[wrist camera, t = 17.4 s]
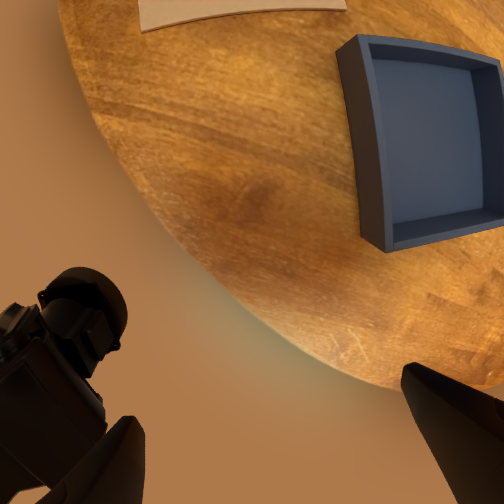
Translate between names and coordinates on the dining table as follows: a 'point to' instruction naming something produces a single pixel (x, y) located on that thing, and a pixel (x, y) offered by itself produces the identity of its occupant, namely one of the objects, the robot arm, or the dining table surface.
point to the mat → (219, 9)
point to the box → (423, 139)
